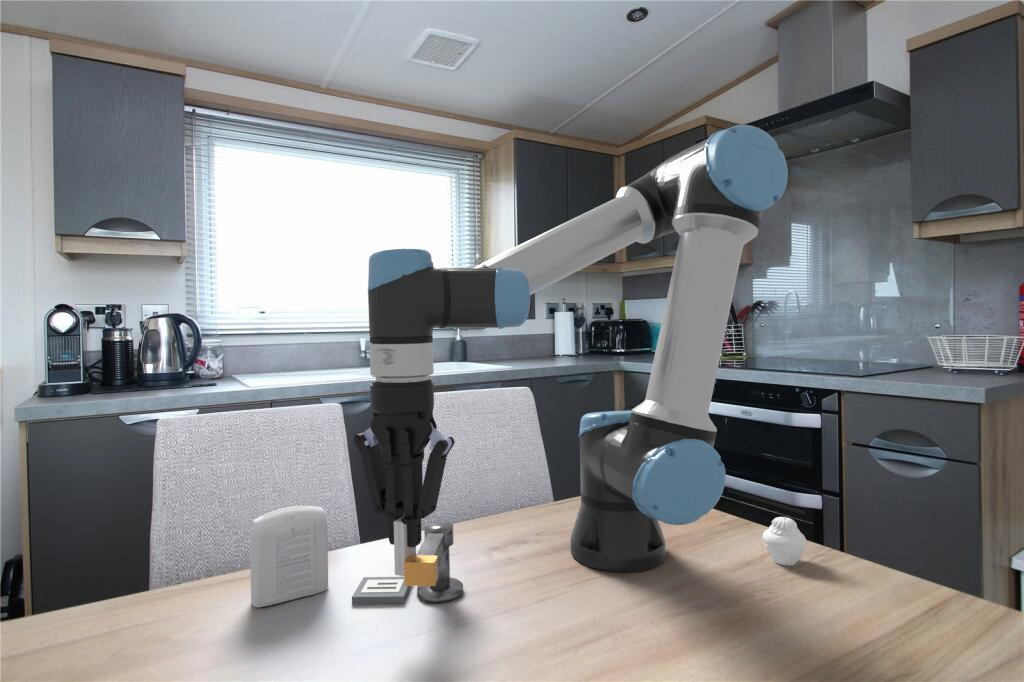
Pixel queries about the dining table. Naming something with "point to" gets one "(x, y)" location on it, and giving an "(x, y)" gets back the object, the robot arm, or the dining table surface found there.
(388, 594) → the label tile
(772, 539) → the muffin
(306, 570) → the photo printer
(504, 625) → the dining table surface
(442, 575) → the round-base stand
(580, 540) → the robot arm
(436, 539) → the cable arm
